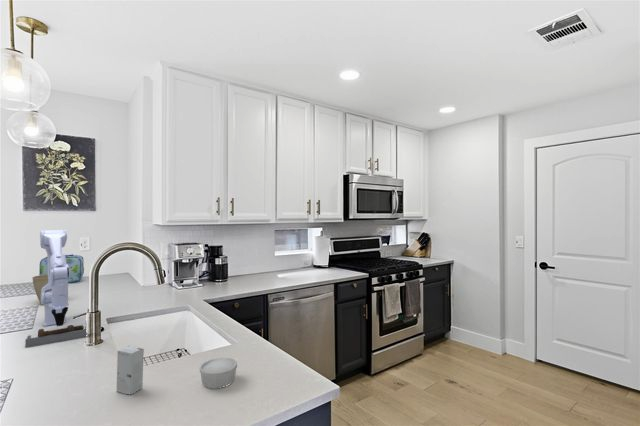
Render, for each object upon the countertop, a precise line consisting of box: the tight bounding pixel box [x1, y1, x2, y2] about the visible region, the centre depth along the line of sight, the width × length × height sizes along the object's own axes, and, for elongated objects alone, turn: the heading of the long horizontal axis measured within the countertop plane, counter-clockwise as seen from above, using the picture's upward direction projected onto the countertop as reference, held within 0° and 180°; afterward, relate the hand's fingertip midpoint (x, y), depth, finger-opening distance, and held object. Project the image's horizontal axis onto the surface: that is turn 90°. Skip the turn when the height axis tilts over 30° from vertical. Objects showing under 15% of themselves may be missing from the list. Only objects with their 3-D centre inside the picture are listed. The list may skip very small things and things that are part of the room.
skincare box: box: [116, 344, 145, 396], centre depth 100 cm, size 6×4×12 cm
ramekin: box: [199, 357, 238, 389], centre depth 105 cm, size 11×11×5 cm
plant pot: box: [32, 274, 51, 306], centre depth 195 cm, size 15×15×16 cm
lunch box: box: [38, 254, 85, 284], centre depth 252 cm, size 26×11×21 cm, turn 115°
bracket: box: [24, 326, 87, 348], centre depth 140 cm, size 7×20×3 cm, turn 125°
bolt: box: [37, 324, 85, 337], centre depth 142 cm, size 6×5×15 cm
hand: (60, 325), depth 148 cm, fingers closed
